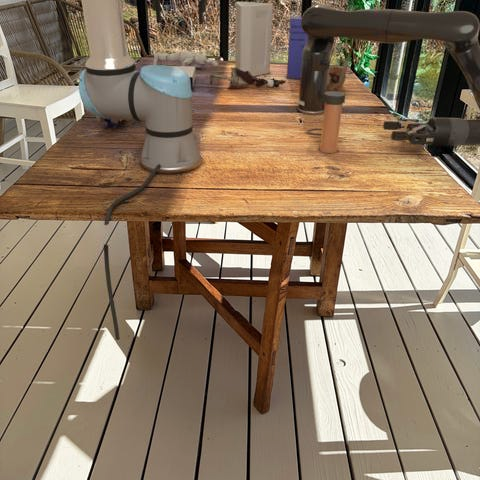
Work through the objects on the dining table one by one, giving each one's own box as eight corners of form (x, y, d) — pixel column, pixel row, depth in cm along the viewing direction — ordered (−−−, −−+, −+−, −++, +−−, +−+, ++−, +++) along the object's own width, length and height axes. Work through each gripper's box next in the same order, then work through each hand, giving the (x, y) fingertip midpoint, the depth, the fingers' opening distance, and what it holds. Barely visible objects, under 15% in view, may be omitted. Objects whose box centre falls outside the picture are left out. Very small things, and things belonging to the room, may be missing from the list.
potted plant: (332, 93, 201) (333, 95, 187) (318, 79, 200) (318, 79, 186) (355, 70, 197) (357, 69, 183) (340, 55, 196) (341, 53, 182)
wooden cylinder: (337, 153, 131) (344, 98, 123) (320, 152, 131) (326, 97, 123) (335, 147, 135) (342, 93, 127) (319, 147, 135) (324, 92, 127)
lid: (345, 104, 123) (346, 96, 122) (324, 104, 124) (325, 96, 123) (343, 99, 128) (344, 91, 127) (322, 98, 128) (323, 90, 127)
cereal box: (326, 77, 211) (332, 17, 198) (327, 79, 206) (333, 19, 194) (286, 76, 211) (290, 16, 199) (287, 78, 207) (290, 18, 195)
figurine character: (119, 135, 145) (134, 115, 156) (115, 111, 140) (131, 93, 152) (98, 134, 145) (114, 114, 157) (93, 110, 141) (110, 92, 152)
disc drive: (147, 90, 186) (146, 77, 184) (155, 77, 206) (154, 65, 203) (192, 90, 187) (192, 77, 184) (196, 77, 206) (195, 65, 204)
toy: (173, 75, 210) (172, 58, 207) (149, 64, 228) (148, 49, 224) (220, 69, 222) (220, 53, 218) (194, 59, 239) (193, 45, 236)
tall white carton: (273, 76, 210) (276, 6, 196) (239, 77, 209) (240, 6, 194) (266, 67, 226) (268, 2, 212) (235, 67, 225) (235, 1, 210)
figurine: (210, 87, 179) (288, 95, 182) (212, 65, 176) (291, 73, 180) (208, 84, 201) (278, 91, 205) (210, 64, 198) (280, 71, 202)
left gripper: (220, -55, 142) (220, 23, 153) (139, -56, 145) (145, 20, 155) (216, -56, 136) (216, 25, 147) (131, -57, 138) (138, 23, 149)
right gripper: (440, 110, 134) (383, 109, 134) (460, 126, 122) (397, 125, 122) (434, 136, 138) (378, 135, 138) (452, 154, 126) (391, 152, 126)
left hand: (180, 23), depth 151 cm, fingers open, 13 cm apart
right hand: (387, 130), depth 130 cm, fingers open, 8 cm apart
